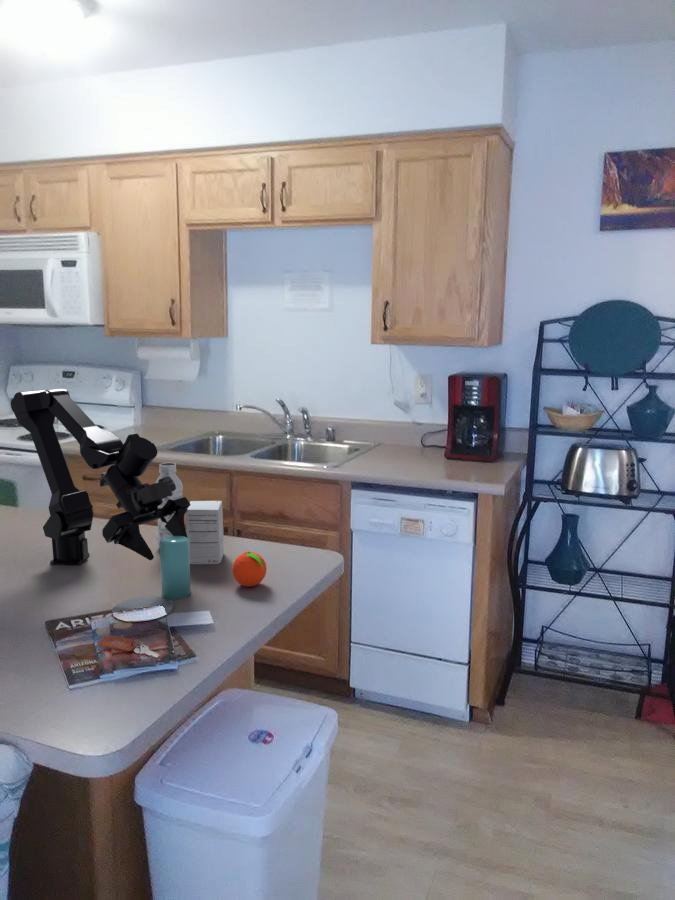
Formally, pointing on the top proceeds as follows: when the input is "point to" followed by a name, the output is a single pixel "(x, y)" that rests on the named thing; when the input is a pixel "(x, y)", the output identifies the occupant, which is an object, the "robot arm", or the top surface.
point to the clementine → (249, 569)
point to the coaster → (144, 603)
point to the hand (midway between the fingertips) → (170, 552)
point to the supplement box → (205, 532)
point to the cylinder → (175, 567)
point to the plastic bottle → (165, 471)
